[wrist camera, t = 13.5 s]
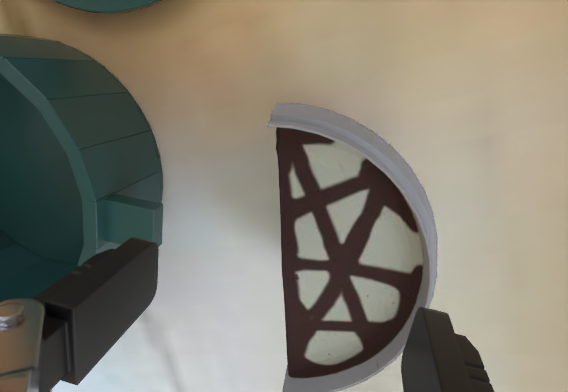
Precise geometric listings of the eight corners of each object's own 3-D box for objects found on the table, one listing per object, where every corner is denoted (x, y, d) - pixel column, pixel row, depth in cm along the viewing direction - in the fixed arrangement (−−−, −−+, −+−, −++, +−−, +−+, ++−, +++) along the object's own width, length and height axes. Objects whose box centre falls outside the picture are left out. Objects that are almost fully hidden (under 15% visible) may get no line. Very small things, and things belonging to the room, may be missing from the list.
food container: (402, 287, 24) (435, 422, 15) (307, 282, 25) (282, 406, 16) (414, 88, 21) (468, 101, 11) (302, 92, 22) (265, 107, 12)
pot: (-100, 17, 25) (-254, -2, 19) (209, 64, 22) (148, 60, 16) (-60, 239, 31) (-169, 281, 25) (193, 301, 28) (143, 368, 22)
